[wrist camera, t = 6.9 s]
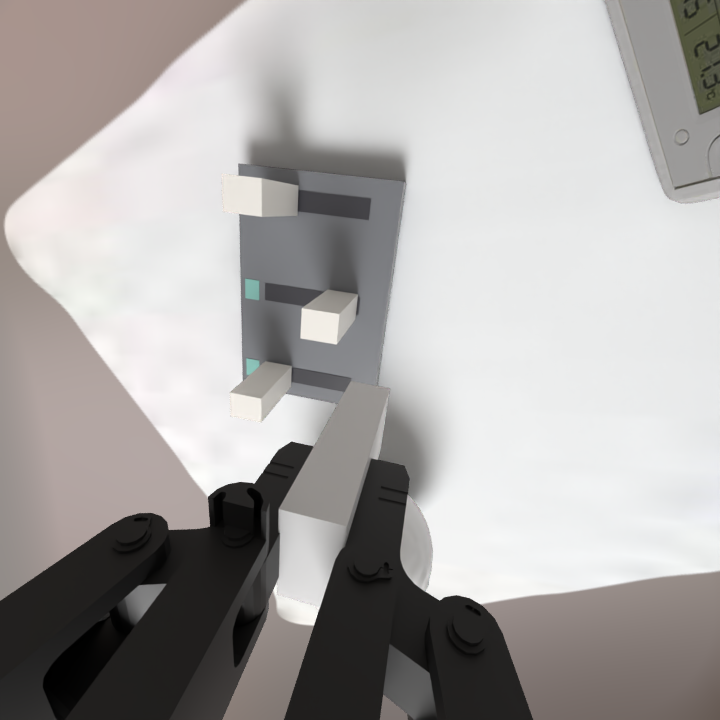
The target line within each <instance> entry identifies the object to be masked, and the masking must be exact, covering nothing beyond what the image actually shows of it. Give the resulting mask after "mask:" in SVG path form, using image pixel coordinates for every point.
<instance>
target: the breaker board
mask: <svg viewBox="0 0 720 720" xmlns="http://www.w3.org/2000/svg"><path fill="white" fill-rule="evenodd" d="M238 167H239V176H247V177H255V178H263V179H268V180H273V181H278V182H283V183H288V184H293V185H298V186H299V189H298V215H297V216H276V217H259V216H251V215H244V214H239V215H240V264H241V313H242V361H243V380H244V379H246V378H247V377H248V376H249V375H250V374H251V373H252V372H254V371H255V370H256V369H257V368H258V367H259V366H260V365H262V364H263V363H264V362H265V361H267V362H272V363H278V364H283V365H289V366H292V373H291V387H290V389H289V390H288V391H287V392H286V393H285V394H290V395H295V396H300V397H306V398H311V399H316V400H321V401H326V402H331V403H337V404H338V403H339V401H340V399H341V398H342V396H343V394H344V392H345V391H346V389H347V387H348V385H349V383H350V382H351V381H354V382H359V383H364V384H369V385H375V386H377V384H378V377H379V370H380V363H381V356H382V349H383V342H384V335H385V328H386V321H387V314H388V307H389V300H390V293H391V286H392V279H393V272H394V265H395V258H396V251H397V244H398V237H399V230H400V223H401V216H402V209H403V202H404V195H405V188H406V183H405V182H404V181H395V180H386V179H377V178H368V177H358V176H349V175H340V174H331V173H321V172H312V171H303V170H294V169H284V168H275V167H266V166H257V165H248V164H238ZM326 290H334V291H341V292H347V293H354V294H358V300H357V309H356V318H355V321H354V322H353V323H352V325H351V326H350V327H349V329H348V330H347V331H346V333H345V334H344V335H343V337H342V338H341V339H340V341H339V342H338V343H337V345H336V344H330V343H324V342H318V341H313V340H307V339H301V338H300V336H301V315H302V308H303V307H304V306H306V305H307V304H308V303H310V302H311V301H312V300H314V299H315V298H317V297H318V296H319V295H321V294H322V293H324V292H325V291H326Z"/></svg>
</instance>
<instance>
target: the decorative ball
mask: <svg viewBox="0 0 720 720" xmlns="http://www.w3.org/2000/svg"><path fill="white" fill-rule="evenodd" d="M432 558H433V548H432V541H431V536H430V532H429V528H428V525H427V523H426V520H425V518H424V516H423V514H422V512H421V510H420V509H419V507H418V506H417V504H416V503H415V502H414V501H413V499H412V498H411V497H410V496H409V495H407V503H406V511H405V518H404V526H403V534H402V541H401V549H400V559H401V563H402V566H403V568H404V570H405V572H406V574H407V576H408V577H409V578H410V579H411V580H412V581H413V583H414V584H415V585H417V586H418V587H419V588H421V589H422V590H423V591H426V589H427V587H428V585H429V578H430V574H431V568H432ZM315 607H316V608H317V609H318V610H319V609H320V607H317V606H315Z"/></svg>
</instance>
